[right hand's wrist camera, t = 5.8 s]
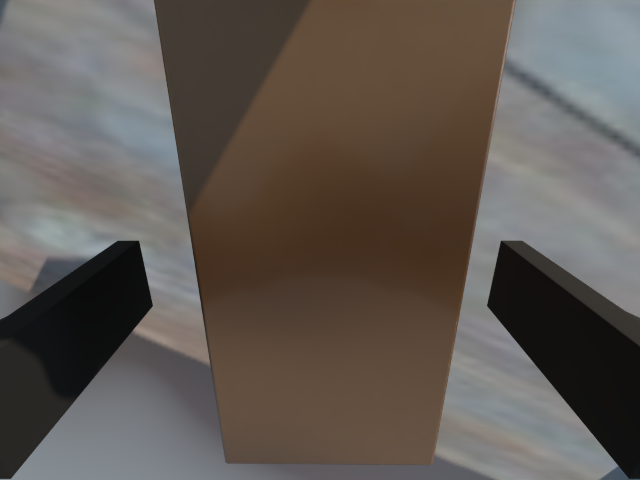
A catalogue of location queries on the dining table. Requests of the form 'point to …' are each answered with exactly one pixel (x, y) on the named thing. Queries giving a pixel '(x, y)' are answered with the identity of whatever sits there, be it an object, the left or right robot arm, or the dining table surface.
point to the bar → (332, 211)
